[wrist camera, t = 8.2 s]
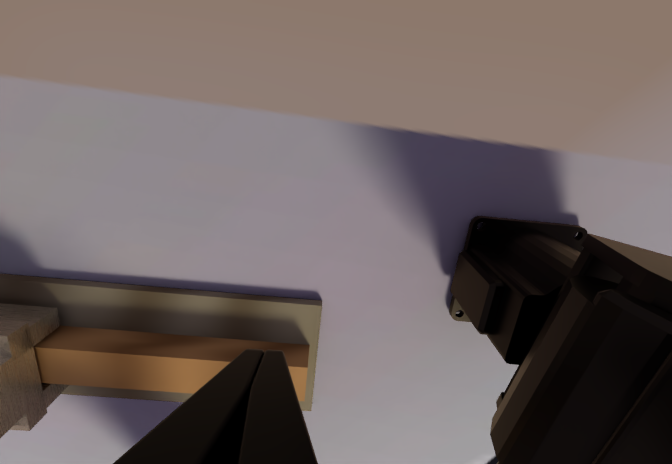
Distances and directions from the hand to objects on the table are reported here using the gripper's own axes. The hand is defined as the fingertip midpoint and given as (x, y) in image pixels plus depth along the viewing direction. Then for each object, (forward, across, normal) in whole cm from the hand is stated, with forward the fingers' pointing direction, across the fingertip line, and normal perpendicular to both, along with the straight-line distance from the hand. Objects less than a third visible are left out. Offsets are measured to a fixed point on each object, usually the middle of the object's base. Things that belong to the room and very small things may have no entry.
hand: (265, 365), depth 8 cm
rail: (+12, +10, +9) cm, 18 cm away
